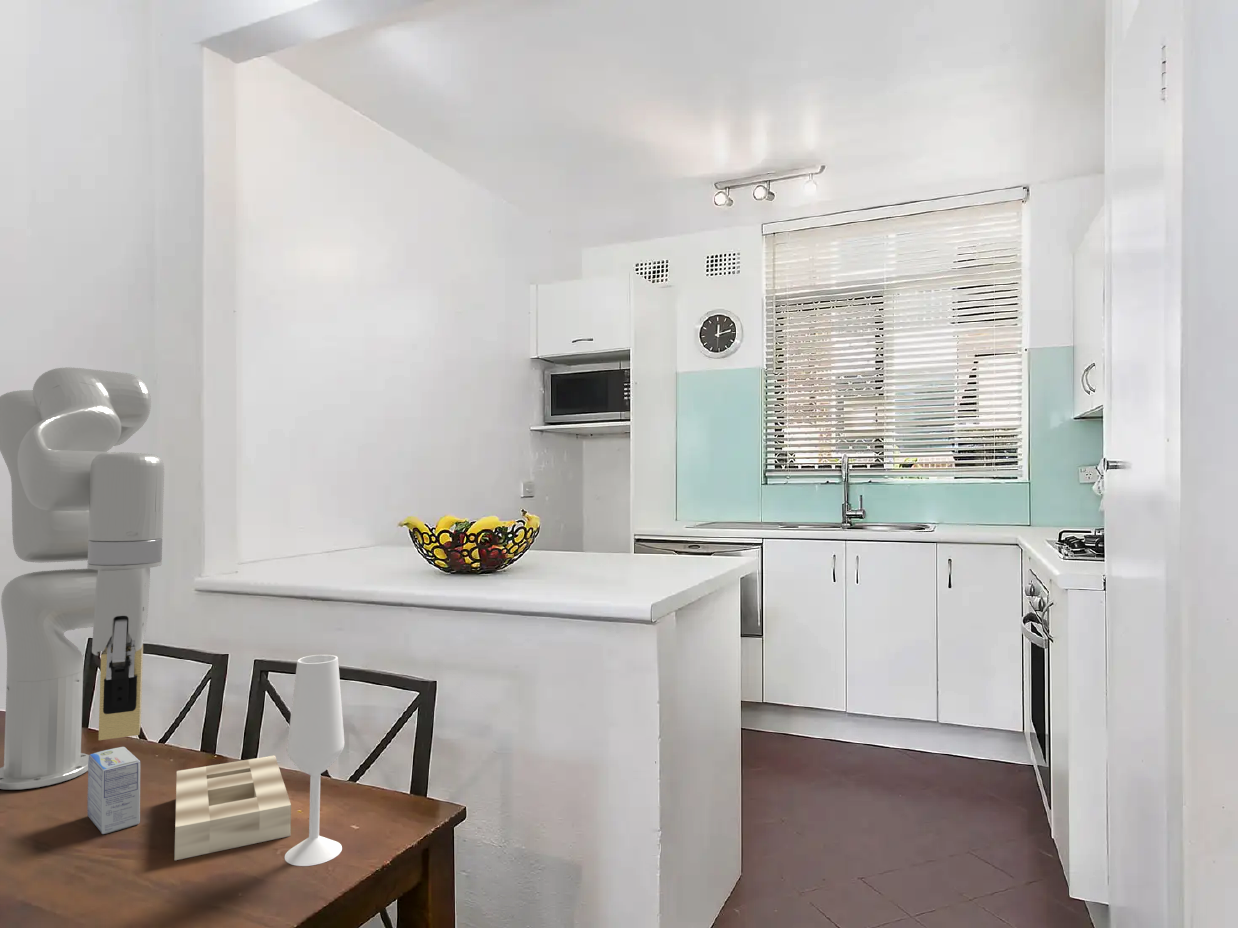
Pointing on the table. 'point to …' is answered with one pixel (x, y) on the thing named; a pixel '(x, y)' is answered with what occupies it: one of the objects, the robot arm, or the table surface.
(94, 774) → the medicine box
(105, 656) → the brass peg
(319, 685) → the champagne flute
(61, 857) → the table surface
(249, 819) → the socket block
